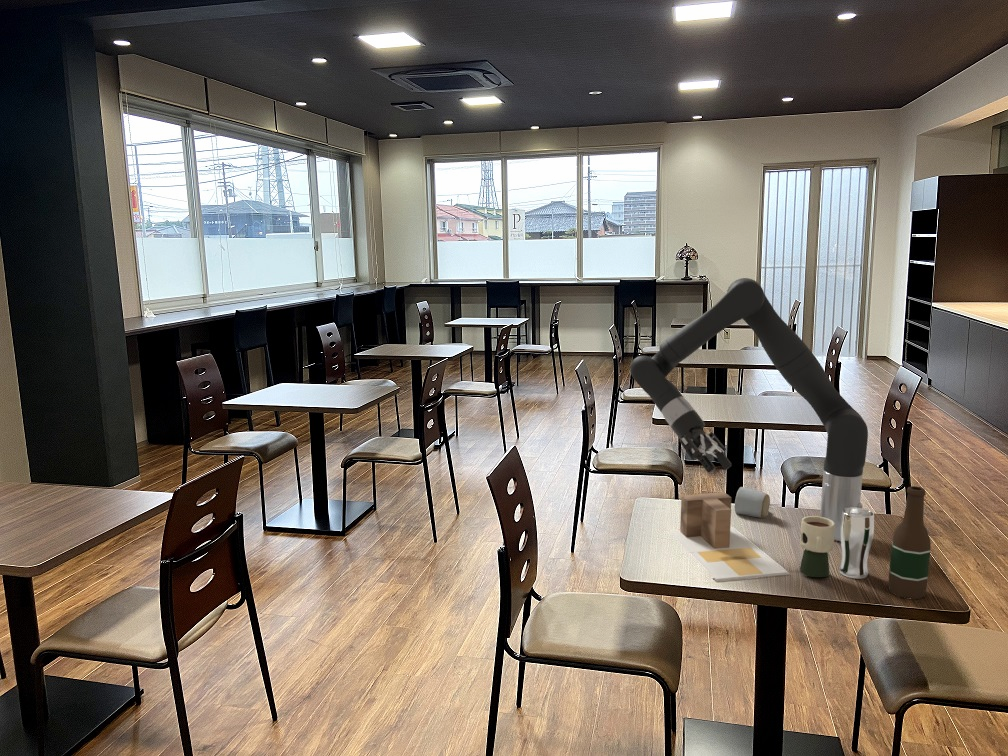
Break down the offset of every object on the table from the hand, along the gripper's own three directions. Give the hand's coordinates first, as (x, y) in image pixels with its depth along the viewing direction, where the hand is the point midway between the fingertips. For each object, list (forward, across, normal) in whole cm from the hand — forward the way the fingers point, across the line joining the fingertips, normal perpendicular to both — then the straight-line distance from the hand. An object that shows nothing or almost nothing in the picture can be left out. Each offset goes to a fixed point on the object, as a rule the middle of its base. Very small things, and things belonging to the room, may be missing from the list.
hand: (720, 468), depth 191 cm
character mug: (+32, +3, -1) cm, 32 cm away
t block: (+11, +4, +16) cm, 20 cm away
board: (+16, 0, +13) cm, 21 cm away
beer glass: (+36, +10, -6) cm, 38 cm away
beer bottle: (+45, +8, -14) cm, 48 cm away
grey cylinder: (+8, +29, +15) cm, 33 cm away
